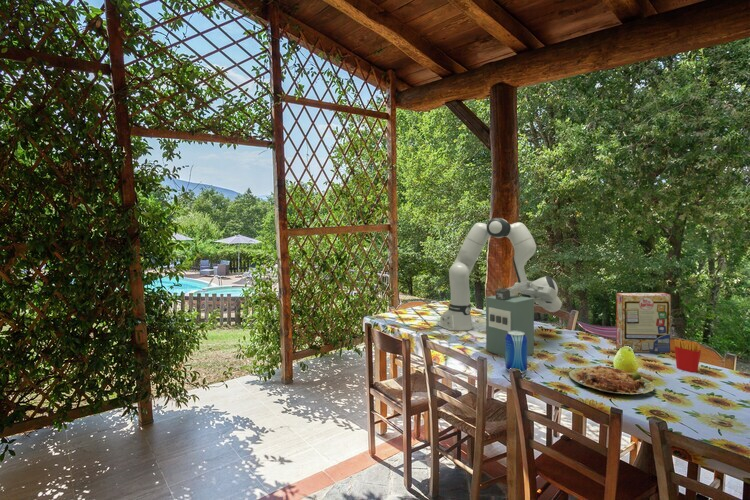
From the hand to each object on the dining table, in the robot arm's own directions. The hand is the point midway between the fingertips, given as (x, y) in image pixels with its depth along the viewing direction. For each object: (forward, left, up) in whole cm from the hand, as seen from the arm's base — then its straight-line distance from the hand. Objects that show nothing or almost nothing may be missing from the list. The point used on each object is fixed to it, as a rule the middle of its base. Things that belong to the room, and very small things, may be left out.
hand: (525, 283), depth 185 cm
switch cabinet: (0, -12, -31) cm, 34 cm away
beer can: (+16, -29, -32) cm, 46 cm away
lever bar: (0, -8, -4) cm, 9 cm away
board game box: (+36, +37, -32) cm, 60 cm away
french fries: (+56, +26, -32) cm, 69 cm away
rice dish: (+44, -11, -32) cm, 55 cm away
